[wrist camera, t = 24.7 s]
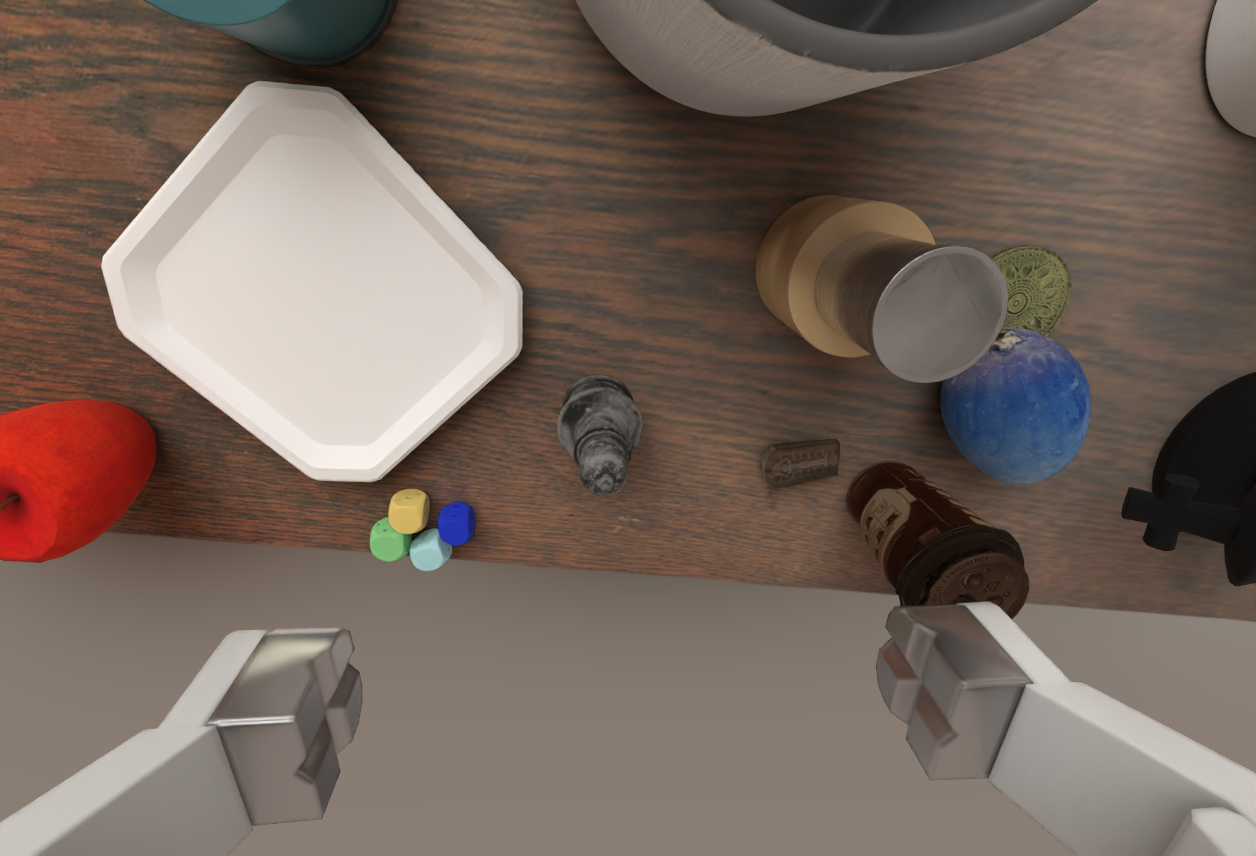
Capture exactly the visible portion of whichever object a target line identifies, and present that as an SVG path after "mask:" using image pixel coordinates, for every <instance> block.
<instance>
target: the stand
mask: <svg viewBox="0 0 1256 856" xmlns="http://www.w3.org/2000/svg"><path fill="white" fill-rule="evenodd" d="M872 231H873V232H883V233H888V234H892V235H896V236H900V237H905V238H909V239H913V240H918V241H922V242H926V243H930V244H935V241H934V238H933V236H932V234H931V232H930V230H929V229H928V227H927V226H926V225H925V223H924V222H923V221H922V220H921V219H920V218H919V217H918V216H917V215H916V214H914V213H913V212H911V211H910V210H908V209H906V208H904V207H902V206H900V205H897V204H893V203H889V202H881V201H874V200H866V199H859V198H851V197H844V196H837V195H821V196H815V197H812V198H808V199H805V200H803V201H801V202H799V203H797V204H795V205H793V206H792V207H790V208H789V209H788V210H786V211H785V212H784V213H782V214H781V215H780V216H779V217H778V218H777V219H776V220H775V222H774V223H773V224H772V226H771V227H770V228H769V230H768V231H767V233H766V235H765V236H764V239H763V241H762V243H761V245H760V248H759V251H758V255H757V260H756V269H755V273H756V283H757V288H758V291H759V294H760V297H761V299H762V301H763V303H764V304H765V306H766V307H767V309H768V310H769V311H770V312H771V313H772V314H773V315H774V316H775V317H776V318H778V319H779V320H780V321H782V322H783V323H784V324H785V325H787V326H788V327H789V328H791V329H792V330H793V331H794V332H796V333H797V334H798V335H800V336H801V337H802V338H803V339H805V340H806V341H807V342H809V343H810V344H811V345H812V346H814V347H815V348H817V349H819V350H820V351H822V352H825V353H827V354H830V355H834V356H838V357H860V356H866V355H870V353H868V352H867V351H865V350H864V349H862V348H861V347H859V346H858V345H856V344H855V343H853V342H852V341H850V340H849V339H847V338H845V337H844V336H842V335H841V334H839V333H838V332H836V331H835V330H833V329H832V328H830V327H829V326H828V325H827V324H826V323H825V322H824V321H823V320H822V318H821V317H820V315H819V313H818V311H817V308H816V305H815V300H814V286H815V280H816V277H817V274H818V271H819V269H820V267H821V265H822V263H823V261H824V260H825V258H826V257H827V256H828V254H829V253H830V252H831V251H832V250H833V249H834V248H835V247H836V246H837V245H839V244H840V243H841V242H843V241H844V240H846V239H848V238H850V237H851V236H854V235H857V234H860V233H864V232H872ZM935 245H936V244H935Z"/></svg>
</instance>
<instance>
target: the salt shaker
mask: <svg viewBox="0 0 1256 856" xmlns="http://www.w3.org/2000/svg"><path fill="white" fill-rule="evenodd" d="M642 429H643V425H642V417H641V414H640V412H639V409H638V407H637V406H636V405H635V403H634V402H633V399H632V396H631V394H630V392H629V390H628V389H627V388H626V386H625V385H624V384H623V383H621V382H620V381H619V380H617V379H615V378H613V377H610V376H606V375H591V376H587V377H585V378H582V379H580V380H578V381H577V382H576V383H574V384H573V385H572V386H571V387H570V389H569V390H568V391H567V393H566V395H565V397H564V400H563V407H562V410H561V412H560V415H559V417H558V424H557V431H558V437H559V440H560V442H561V444H562V446H563V448H564V449H565V450H566V451H567V453H568V454H569V455H570V456H572V457H573V458H574V459H575V462H576V464H577V466H578V467H579V468H580V477H581V481H582V483H583V485H584V487H585V488H586V489H587V490H588V491H590V492H591V493H593V494H595V495H598V496H610V495H613V494H616V493H617V492H619V491H621V490H622V489H623V488H624V486H625V485H626V483H627V481H628V477H629V469H628V463H629V461H630V458H631V452H632V451H633V450H634V449H635V448H636V447H637V445H638V443H639V441H640V439H641V435H642Z"/></svg>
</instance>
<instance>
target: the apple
mask: <svg viewBox="0 0 1256 856" xmlns="http://www.w3.org/2000/svg"><path fill="white" fill-rule="evenodd" d="M155 459H156V433H155V431H154V430H153V429H152V427H151V426H150V424H149V423H148V421H147V420H146V419H145V418H144V417H142V416H141V415H139V414H138V413H136V412H135V411H134V410H132V409H130V408H128V407H125V406H122V405H120V404H117V403H114V402H106V401H97V400H89V399H86V400H68V401H60V402H54V403H48V404H42V405H38V406H34V407H30V408H26V409H21V410H17V411H13V412H9V413H5V414H1V415H0V560H4V561H18V562H36V563H41V562H44V561H48V560H51V559H55V558H59V557H62V556H65V555H67V554H69V553H71V552H73V551H75V550H77V549H79V548H81V547H83V546H85V545H87V544H89V543H90V542H92V541H94V540H95V539H96V538H97V537H99V536H100V535H102V534H103V533H104V532H105V531H107V530H108V529H109V528H110V527H111V526H112V525H113V524H114V523H115V522H116V521H117V520H118V519H119V518H120V517H121V516H122V515H123V514H124V513H125V512H126V511H127V510H128V508H129V507H130V505H131V504H132V503H133V501H134V500H135V499H136V497H137V496H138V494H139V493H140V492H141V490H142V489H143V488H144V486H145V484H146V482H147V480H148V478H149V476H150V474H151V472H152V470H153V467H154V463H155Z"/></svg>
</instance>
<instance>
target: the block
mask: <svg viewBox="0 0 1256 856" xmlns="http://www.w3.org/2000/svg"><path fill="white" fill-rule="evenodd" d="M839 447H840V443H839V441H838V440H837V439H828V440H819V441H806V442H797V443H786V444H776V445H772V446H771V447H769V448H768V449H767V450H766V451H765V452H764V453H763V454H762V456H761V459H760V468H761V471H762V473H763V475H764V476H765V478H766V480H767V482H768V483H769V484H770V485H771V486H772V487H774V488H780V487H785V486H786V487H787V486H791V485H795V484H799V483H804V482H808V481H813V480H817V479H822V478H826V477H830V476H834V475H835V476H836V475H837V472H838V462H839V455H840V453H839V449H840V448H839Z"/></svg>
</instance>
